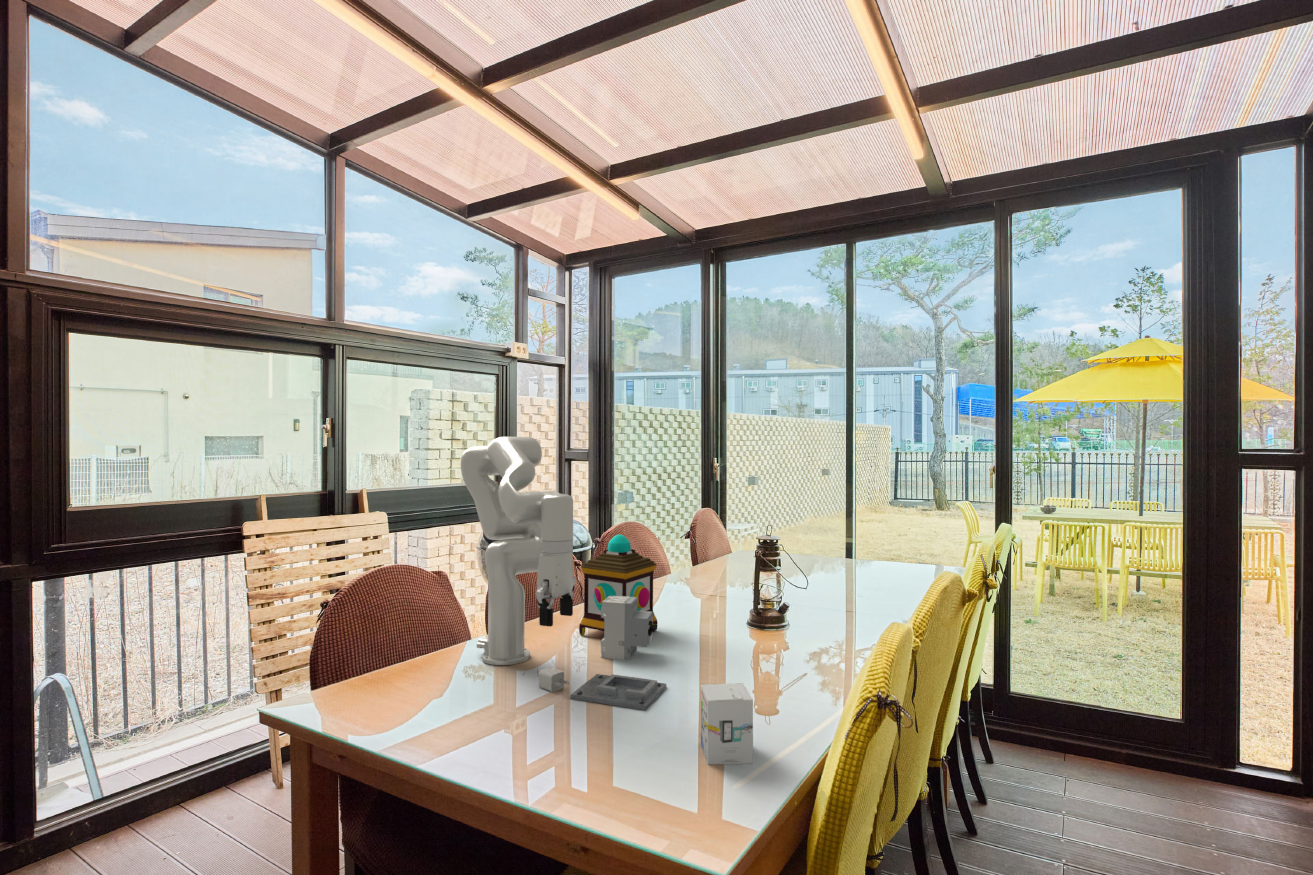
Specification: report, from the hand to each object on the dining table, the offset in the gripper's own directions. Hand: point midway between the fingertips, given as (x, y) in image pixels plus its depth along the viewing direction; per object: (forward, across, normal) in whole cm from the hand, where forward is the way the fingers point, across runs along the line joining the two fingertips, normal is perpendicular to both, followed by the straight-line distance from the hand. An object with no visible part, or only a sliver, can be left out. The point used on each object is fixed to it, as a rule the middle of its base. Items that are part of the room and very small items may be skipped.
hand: (556, 620), depth 153 cm
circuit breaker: (+16, -29, +7) cm, 34 cm away
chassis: (+16, -3, +15) cm, 22 cm away
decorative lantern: (+16, -47, -4) cm, 50 cm away
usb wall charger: (+16, 0, 0) cm, 16 cm away
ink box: (+16, +17, +45) cm, 51 cm away
